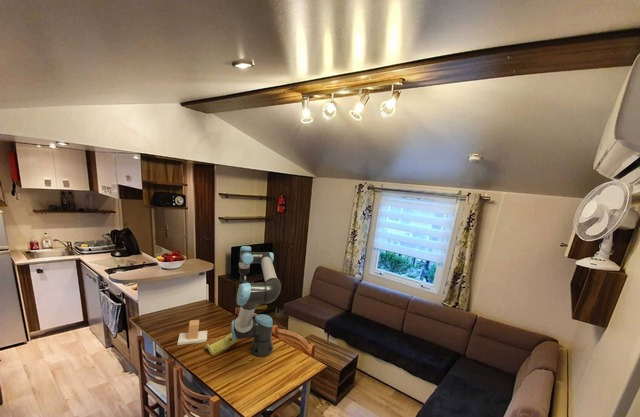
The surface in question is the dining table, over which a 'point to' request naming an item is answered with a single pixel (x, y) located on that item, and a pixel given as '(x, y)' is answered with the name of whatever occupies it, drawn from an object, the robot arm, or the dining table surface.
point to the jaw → (193, 329)
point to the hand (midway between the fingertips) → (242, 296)
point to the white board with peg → (184, 339)
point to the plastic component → (221, 345)
